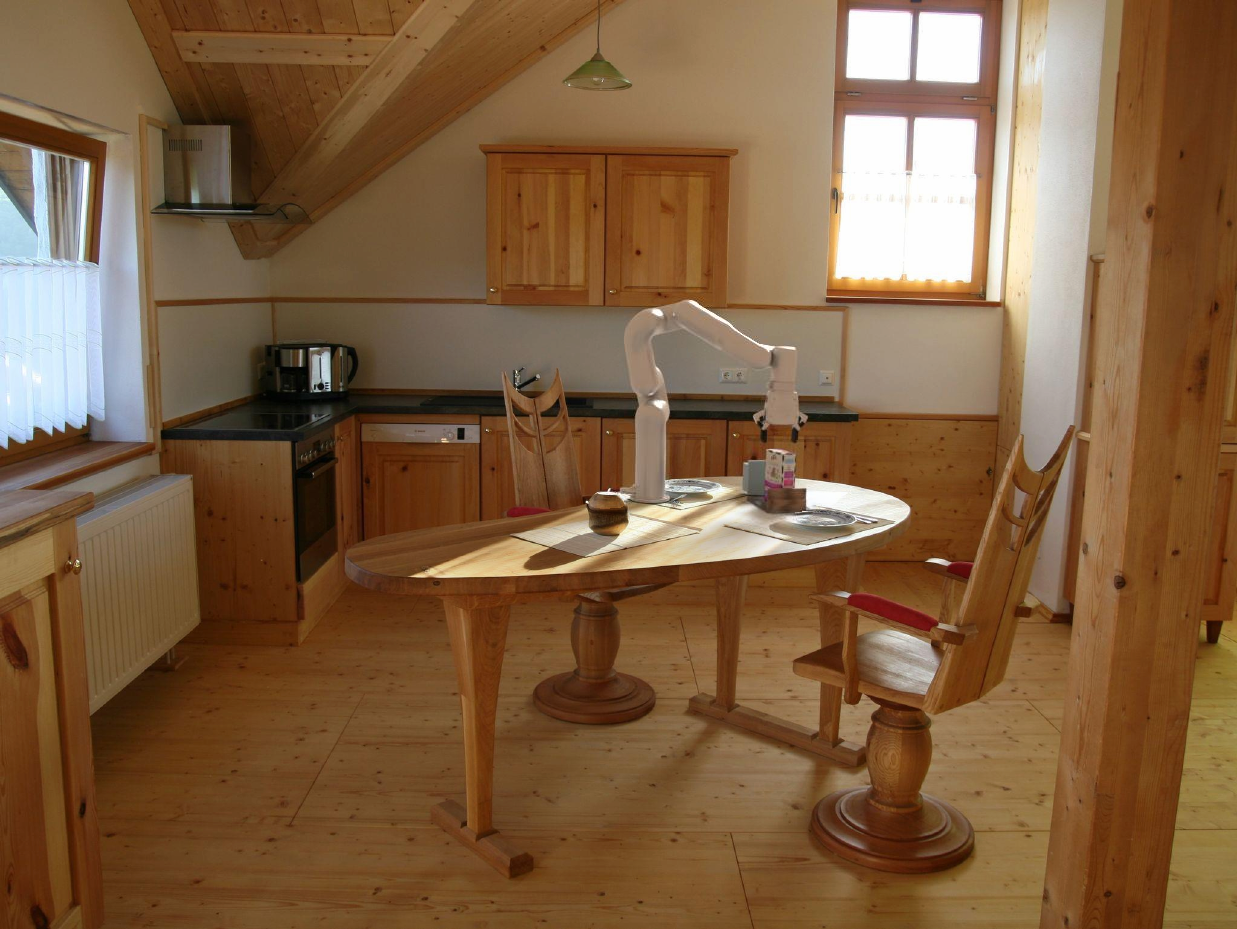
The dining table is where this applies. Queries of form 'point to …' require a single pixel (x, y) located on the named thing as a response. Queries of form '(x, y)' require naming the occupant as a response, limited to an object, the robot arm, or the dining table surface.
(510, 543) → the dining table surface
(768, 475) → the candy bar box
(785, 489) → the book rack
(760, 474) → the block
